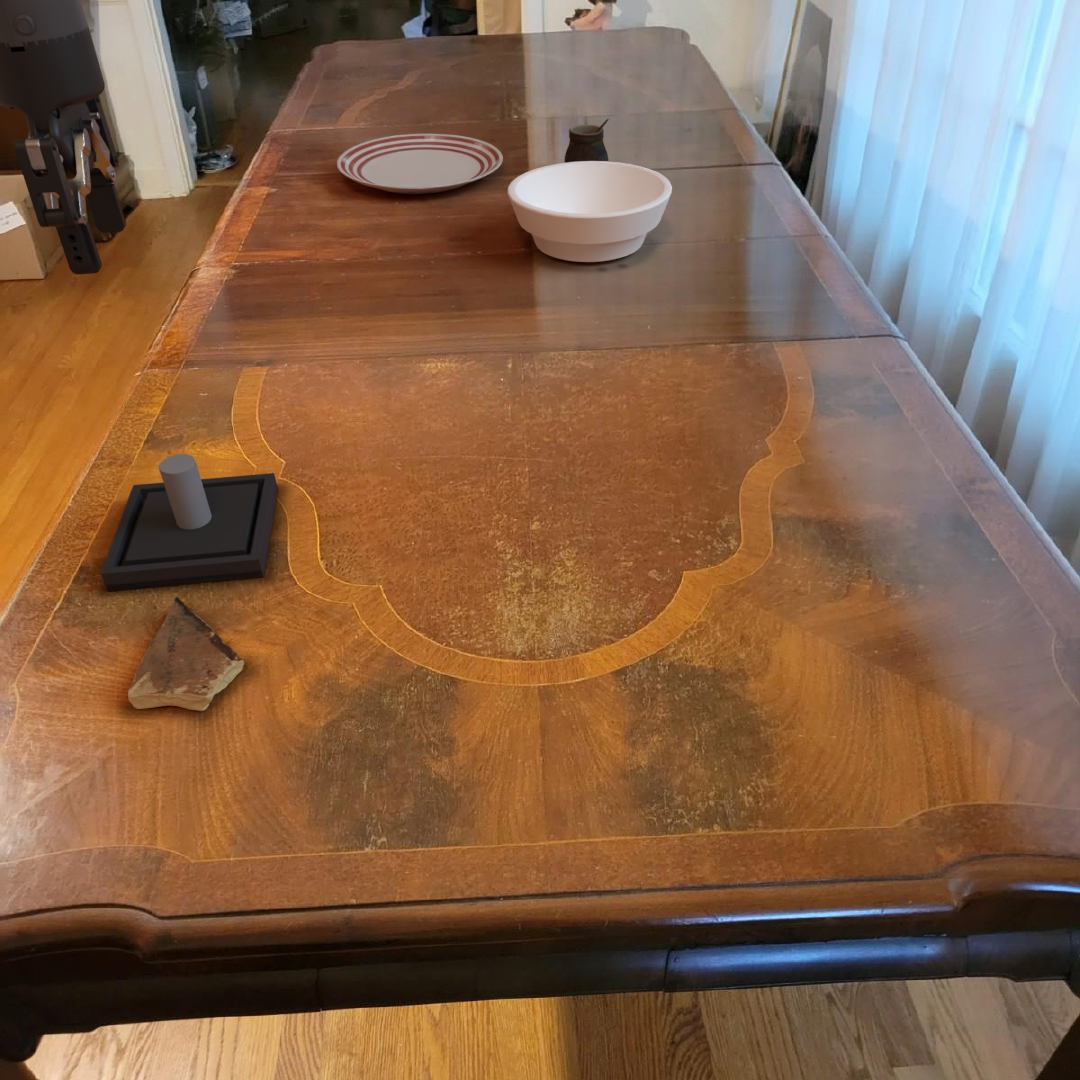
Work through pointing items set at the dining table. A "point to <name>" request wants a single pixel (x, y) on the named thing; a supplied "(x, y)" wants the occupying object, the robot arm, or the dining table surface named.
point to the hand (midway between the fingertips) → (100, 250)
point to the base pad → (198, 569)
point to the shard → (183, 664)
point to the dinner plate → (419, 162)
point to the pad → (198, 541)
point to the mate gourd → (586, 144)
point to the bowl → (589, 208)
